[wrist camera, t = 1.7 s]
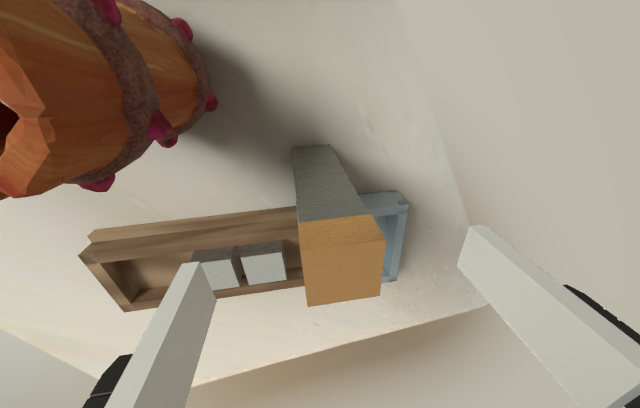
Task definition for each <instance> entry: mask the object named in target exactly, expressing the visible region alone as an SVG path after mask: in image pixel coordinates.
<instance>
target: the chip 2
mask: <svg viewBox="0 0 640 408" xmlns="http://www.w3.org/2000/svg"><path fill="white" fill-rule="evenodd" d="M240 258H241V261H242V265H243V268H244V271H245V274H246V277H247V280H248V283H249V285H254V284H261V283H268V282H275V281H282V280H287V263H286V258H285V252H284V247H283V241H282V240H276V241H268V242H261V243H253V244H245V245H243V248H242V253H241V257H240Z"/></svg>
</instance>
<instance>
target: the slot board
mask: <svg viewBox="0 0 640 408" xmlns="http://www.w3.org/2000/svg"><path fill="white" fill-rule="evenodd" d="M87 237H88V238H89V239H90V241H91V242H92V243H91V244H90V245H89V246H88V247H87V248H86V249H85V250H84V251H82V252H81V253H80V254H79V255H78V256H79V258H80V259H81V260H82V261H83V262H84V264H85V265H86V266H87V267H88V269H89V270H90V271H91V272H92V274H93V275H94V276H95V277H96V278H97V280H98V281H99V282H100V283H101V285H102V286H103V287H104V288H105V289H106V291H107V292H108V293H109V294H110V296H111V297H112V298H113V299H114V300H115V302H116V303H117V304H118V305H119V307H120V308H121V309H122V310H123V312H130V311H137V310H144V309H150V308H157V307H159V305H160V303H161V302H162V300H163V298H164V296H165V294H166V292H167V290H168V289H169V287H170V285H171V283H172V281H173V279H174V277H175V276H176V274H177V272H178V270H179V268H180V266H181V265H182V264H183V263H188V262H189V260H190V258H191V256H192V254H193V252H194V251H199V250H207V249H214V248H222V247H230V246H236V248H237V252H238V255H239V258H240V257H241V253H242V248H243V245H245V244H253V243H261V242H268V241H276V240H282V241H283V247H284V252H285V258H286V263H287V280H282V281H275V282H268V283H261V284H254V285H249V283H248V280H247V277H246V274H245V271H244V268H243V272H242V277H241V282H240V287H234V288H227V289H220V290H213V293H214V296H215V298H216V299H218V298H225V297H232V296H239V295H245V294H252V293H259V292H266V291H273V290H279V289H286V288H293V287H300V286H305V283H304V276H303V268H302V261H301V253H300V243H299V231H298V218H297V207H296V206H293V207H284V208H276V209H267V210H259V211H251V212H242V213H234V214H225V215H217V216H208V217H200V218H191V219H183V220H174V221H166V222H157V223H149V224H140V225H132V226H123V227H115V228H106V229H98V230H94V231H93V232H92V233H90V234H89V235H88V236H87ZM240 261H241V258H240ZM241 264H242V261H241ZM242 267H243V265H242Z"/></svg>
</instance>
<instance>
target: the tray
mask: <svg viewBox="0 0 640 408" xmlns="http://www.w3.org/2000/svg"><path fill="white" fill-rule="evenodd" d="M359 197H360V199H361V200H362V202H363V204H364V206H365V207H366V209H367V211H368V213H369V214H371V215H372V217H373V218H374V220H375V222H376V223H377V225H378V227H379V229H380V230H381V232H382V234H383V235H384V237H385V239H386V246H385V254H384V263H383V271H382V280H381V283H385V282H392V281H397V276H398V270H399V264H400V258H401V252H402V246H403V240H404V234H405V228H406V222H407V216H408V211H409V205H410V204H409V203H408V202H407V201H406V200H405V199H404V198H403V197H402V195H401V194H400V193H399V192H398V191H397V190H395V191H387V192H378V193H369V194H361V195H359ZM296 207H297V202H296ZM297 218H298V208H297ZM298 223H299V219H298Z"/></svg>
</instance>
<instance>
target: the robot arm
mask: <svg viewBox="0 0 640 408" xmlns="http://www.w3.org/2000/svg"><path fill="white" fill-rule="evenodd" d="M456 266H457V267H458V268H459V270H460V271H461V272H462V273H463V274H464V275H465V276H466V278H467V279H468V280H469V281H470V282H471V283H472V284H473V286H474V287H475V288H476V289H477V290H478V291H479V292H480V294H481V295H482V296H483V297H484V298H485V299H486V300H487V302H488V303H489V304H490V305H491V306H492V307H493V308H494V310H495V311H496V312H497V313H498V314H499V315H500V316H501V317H502V319H503V320H504V321H505V322H506V323H507V324H508V326H509V327H510V328H511V329H512V330H513V331H514V332H515V334H516V335H517V336H518V337H519V338H520V339H521V340H522V341H523V343H524V344H525V345H526V346H527V347H528V348H529V350H530V351H531V352H532V353H533V354H534V355H535V356H536V358H537V359H538V360H539V361H540V362H541V363H542V364H543V366H544V367H545V368H546V369H547V370H548V371H549V372H550V374H551V375H552V376H553V377H554V378H555V379H556V380H557V382H558V383H559V384H560V385H561V386H562V387H563V388H564V390H565V391H566V392H567V393H568V394H569V395H570V396H571V398H572V399H573V400H574V401H575V402H576V403H577V405H578V406H579V407H580V408H622V407H626V408H640V335H639V334H638V333H637V332H635V331H634V330H633V329H631V328H630V327H629V326H627V325H626V324H625V323H623V322H622V321H618V320H617V317H615V316H614V315H612V314H611V313H610V312H608V311H607V310H604V309H603V307H602V306H600V305H599V304H598V303H596V302H595V301H593V300H592V299H591V298H590V297H588V296H587V295H586V294H584V293H582V292H580V291H578V290H576V289H574V288H572V287H570V286H568V285H562V284H560V283H559V282H558V281H556V280H555V279H554V278H553V277H551V276H550V275H549V274H547V273H546V272H545V271H543V270H542V269H541V268H540V267H538V266H537V265H536V264H535V263H533V262H532V261H531V260H529V259H528V258H527V257H526V256H524V255H523V254H521V253H520V252H519V251H518V250H516V249H515V248H514V247H513V246H511V245H510V244H508V243H507V242H506V241H505V240H503V239H502V238H501V237H500V236H498V235H497V234H496V233H494V232H493V231H492V230H491V229H489V228H488V227H487V226H485V225H484V224H482V225H474V226H469V229H468V232H467V235H466V238H465V241H464V244H463V247H462V250H461V253H460V256H459V259H458V262H457V265H456ZM216 301H217V300H216V298H215V296H214V293H213V291H212V289H211V287H210V284H209V282H208V280H207V277H206V275H205V273H204V271H203V268H202V266H201V264H200V262H199V261H198V262H191V263H183V264H182V265H181V266H180V268H179V270H178V272H177V274H176V276H175V277H174V279H173V281H172V283H171V285H170V287H169V289H168V290H167V292H166V294H165V296H164V298H163V300H162V302H161V303H160V305H159V307H158V309H157V311H156V313H155V315H154V316H153V318H152V320H151V322H150V324H149V326H148V328H147V329H146V331H145V333H144V335H143V337H142V339H141V341H140V342H139V344H138V346H137V348H136V350H135V352H134V354H129V355H122V356H119V357H118V358H117V359H116V360H115V361H114V362H113V364H112V365H111V366H110V367H109V368H108V369H107V370H106V371H105V372H104V373H103V374H102V376H101V378H100V379H99V381H98V383H97V385H96V386H95V388H94V389H93V391H92V393H91V394H90V396H91V397H90V398H89V399H88V400H87V401H86V403H85V404H84V406H83V408H184V407H185V404H186V401H187V397H188V394H189V391H190V388H191V384H192V381H193V378H194V374H195V371H196V368H197V364H198V361H199V358H200V354H201V351H202V348H203V344H204V341H205V338H206V334H207V331H208V328H209V324H210V321H211V318H212V314H213V311H214V308H215V305H216Z"/></svg>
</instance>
